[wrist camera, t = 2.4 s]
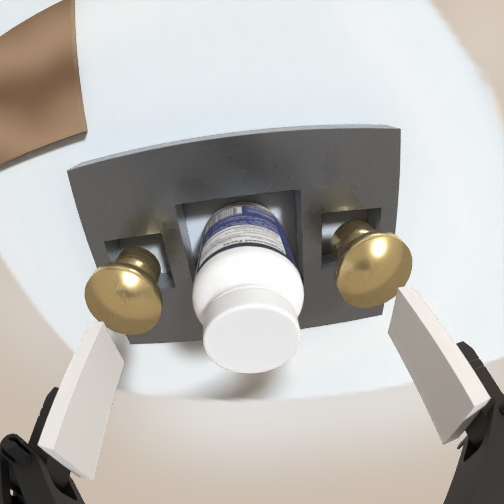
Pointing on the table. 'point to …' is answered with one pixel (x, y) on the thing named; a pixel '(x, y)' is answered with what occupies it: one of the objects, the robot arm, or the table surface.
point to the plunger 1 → (126, 292)
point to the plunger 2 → (369, 264)
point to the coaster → (40, 82)
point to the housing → (238, 184)
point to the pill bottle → (247, 290)
